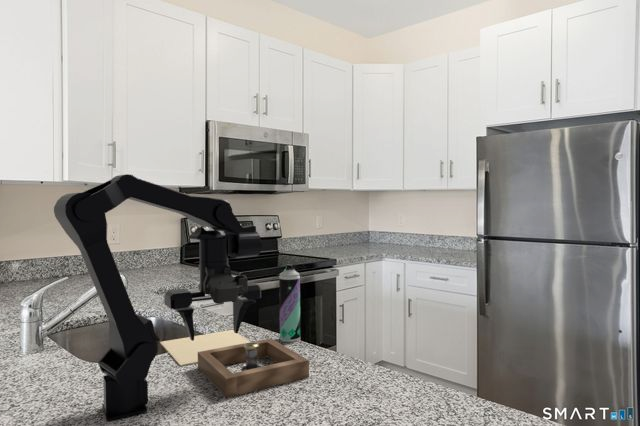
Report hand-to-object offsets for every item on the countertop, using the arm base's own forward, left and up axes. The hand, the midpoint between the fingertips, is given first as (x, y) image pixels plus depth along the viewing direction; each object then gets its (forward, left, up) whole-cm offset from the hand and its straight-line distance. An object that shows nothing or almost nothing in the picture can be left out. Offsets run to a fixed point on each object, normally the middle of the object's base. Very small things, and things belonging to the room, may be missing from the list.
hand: (214, 336), depth 91 cm
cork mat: (+6, +22, -9) cm, 25 cm away
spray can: (+26, +16, -9) cm, 32 cm away
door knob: (+8, 0, -9) cm, 12 cm away
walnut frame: (+8, 0, -9) cm, 12 cm away
